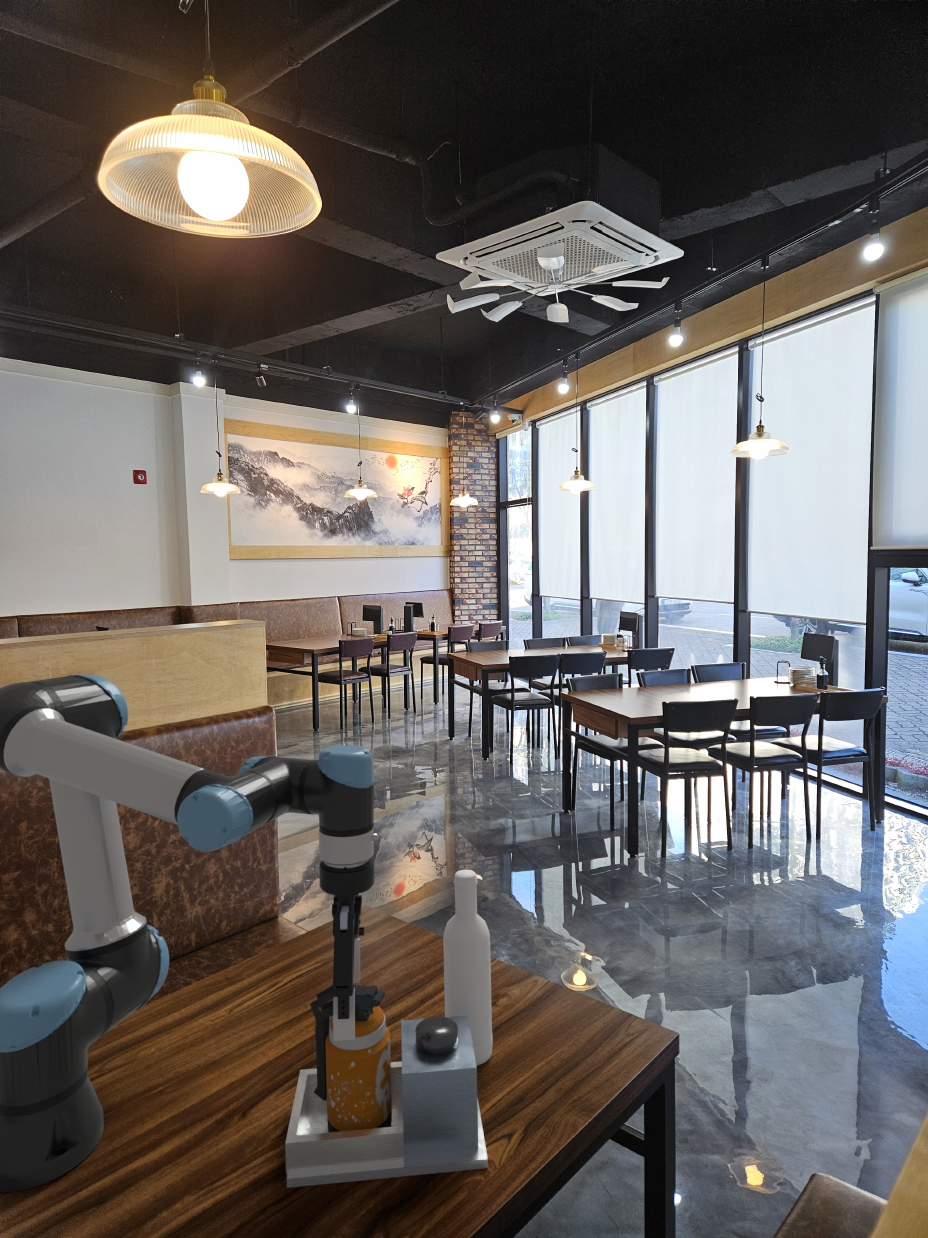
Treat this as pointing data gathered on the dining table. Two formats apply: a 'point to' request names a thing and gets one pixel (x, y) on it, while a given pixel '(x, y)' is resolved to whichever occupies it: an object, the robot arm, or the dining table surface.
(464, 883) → the bottle
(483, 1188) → the dining table surface
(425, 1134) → the grey holder tray
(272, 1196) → the dining table surface
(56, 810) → the robot arm
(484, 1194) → the dining table surface
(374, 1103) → the canister
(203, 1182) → the dining table surface
